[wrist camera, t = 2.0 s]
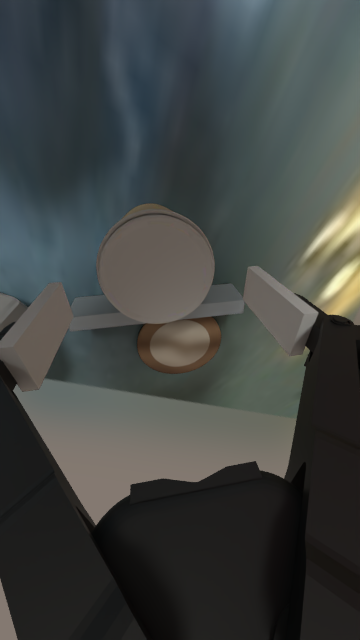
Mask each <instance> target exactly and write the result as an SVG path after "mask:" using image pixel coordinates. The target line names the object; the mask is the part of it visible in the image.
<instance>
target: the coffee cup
mask: <svg viewBox="0 0 360 640" xmlns="http://www.w3.org/2000/svg"><path fill="white" fill-rule="evenodd" d="M96 268H97V277H98V281H99V284H100V287H101V289H102V291H103V293H104V294H105V296H106V297H107V299H108V300H109V301H110V303H111V304H112V305H113V306H114V307H115V308H116V309H117V310H118V311H120V312H121V313H123V314H124V315H126V316H127V317H129V318H131V319H134V320H136V321H139V322H143V323H149V324H163V323H169V322H173V321H176V320H179V319H181V318H183V317H185V316H187V315H188V314H190V313H191V312H193V311H194V310H195V309H196V308H197V307H198V306H199V305H200V304H201V303H202V301H203V300H204V299H205V297H206V295H207V294H208V292H209V290H210V287H211V284H212V281H213V277H214V271H215V262H214V255H213V251H212V248H211V245H210V243H209V241H208V239H207V238H206V236H205V234H204V233H203V232H202V230H201V229H200V228H199V227H198V226H197V225H196V224H195V223H193V222H192V221H191V220H189V219H188V218H186V217H184V216H182V215H180V214H178V213H175V212H173V211H171V210H169V209H168V208H166V207H164V206H161V205H157V204H142V205H139V206H137V207H135V208H133V209H132V210H130V211H129V212H128V213H127V214H126V215H125V216H124V217H123V218H122V219H121V220H120V221H119V222H117V223H116V224H115V225H114V226H113V227H112V228H111V229H110V230H109V231H108V233H107V234H106V236H105V237H104V239H103V241H102V243H101V245H100V248H99V251H98V255H97V265H96Z"/></svg>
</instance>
